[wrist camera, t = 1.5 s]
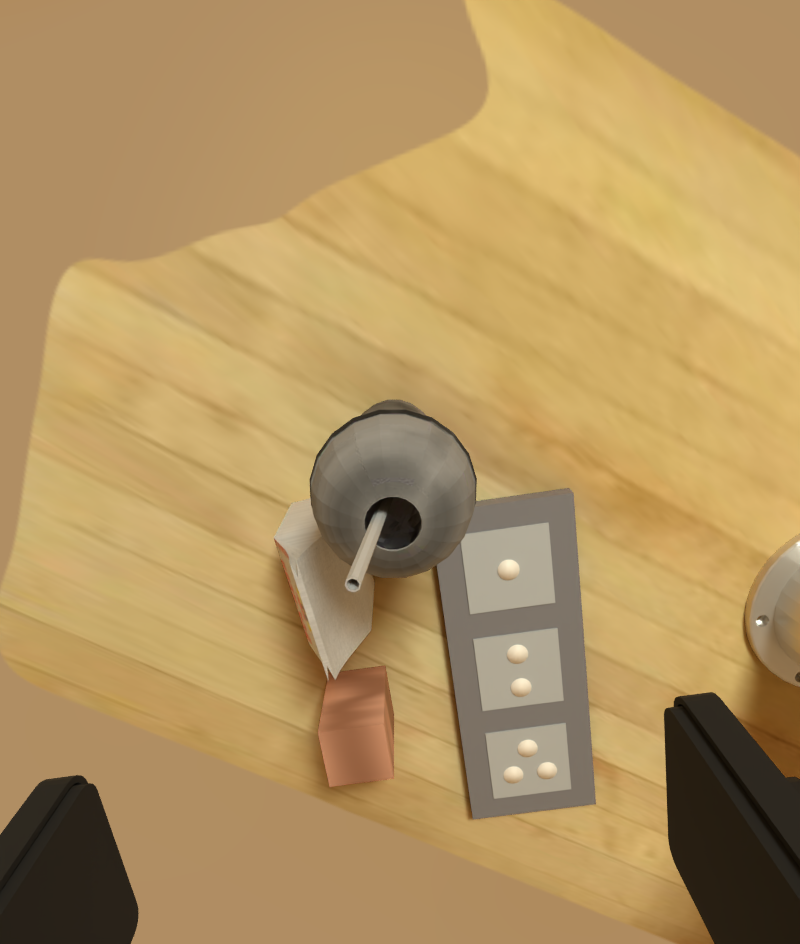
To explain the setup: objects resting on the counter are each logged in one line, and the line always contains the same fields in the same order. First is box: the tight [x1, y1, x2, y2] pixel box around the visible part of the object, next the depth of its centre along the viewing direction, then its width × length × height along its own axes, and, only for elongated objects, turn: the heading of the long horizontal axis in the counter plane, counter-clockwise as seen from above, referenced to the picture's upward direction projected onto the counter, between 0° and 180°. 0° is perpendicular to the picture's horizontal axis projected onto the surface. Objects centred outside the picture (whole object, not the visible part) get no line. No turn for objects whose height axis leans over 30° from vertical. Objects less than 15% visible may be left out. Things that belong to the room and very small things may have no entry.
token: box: [318, 666, 394, 787], centre depth 39 cm, size 4×4×6 cm
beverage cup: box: [310, 400, 477, 592], centre depth 27 cm, size 7×7×20 cm
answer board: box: [437, 488, 596, 819], centre depth 41 cm, size 9×24×1 cm, turn 8°
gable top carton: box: [274, 498, 375, 682], centre depth 34 cm, size 4×7×10 cm, turn 14°
